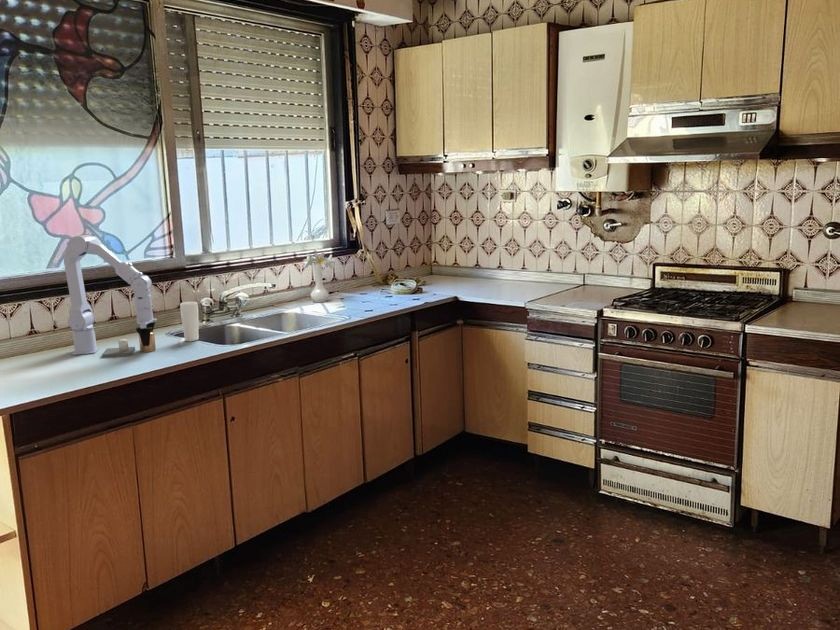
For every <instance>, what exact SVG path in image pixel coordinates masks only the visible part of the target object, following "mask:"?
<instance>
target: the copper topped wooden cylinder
mask: <svg viewBox="0 0 840 630" xmlns="http://www.w3.org/2000/svg"><path fill="white" fill-rule="evenodd" d="M138 339H139V342H138V343H139V351H140V352H141V353H149V352H150V351H151V352H153V351H154V350H155V351H156V350H157V348H156V336H155V332H154V331H153V332H151V334H150V345H149V346H143V344H142V341H141V338H140V336H139V335H138ZM151 352H150V353H151Z"/></svg>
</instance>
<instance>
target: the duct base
mask: <svg viewBox="0 0 840 630" xmlns="http://www.w3.org/2000/svg"><path fill="white" fill-rule="evenodd" d="M135 351H136V346H129V340H128V339H127V338H123V339H119V340H118V347H111V348H110V347H109V348H106V349H105V350H104V351H103V352H102V354H101V357H107V358H118V357H117V356H120V357H130V356H132V355H134V352H135Z"/></svg>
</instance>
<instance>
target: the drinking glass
mask: <svg viewBox="0 0 840 630" xmlns="http://www.w3.org/2000/svg"><path fill="white" fill-rule="evenodd" d="M179 309H180V317H181V318H180V319H181V323H182V328H183V335H184V340H185V341H186V342H194V341H198V340H199V337H200V335H199V304H198V302H197V301H184V302H180V304H179Z"/></svg>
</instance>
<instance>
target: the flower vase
mask: <svg viewBox="0 0 840 630" xmlns="http://www.w3.org/2000/svg"><path fill="white" fill-rule="evenodd" d="M324 256H325V252H321V253H320V254H318V252H314V253H313V255H312V256H311V254H310V253H307V254H306V258H304V259H303V260H302V263H303V264H304V266H303V268H306V269H307V268H308V267H309V266H313V267H314V270H315V284H314V285H315V286H314V288H313V289H312V290H311V292H310V298H311V299H312V300H313V302H314V303H324V302H325V303H326V302H327V299H329V296H330V293H329V291H328V290H327V289H326V288H325V286H324V283H323V276H322V271H323V268H324V269H326V268H328V267H329V268H330V269H333V267H334V266H333V263H336V261H337V260H336V258H333V254H330V255H329V256H328V257H324Z"/></svg>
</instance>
